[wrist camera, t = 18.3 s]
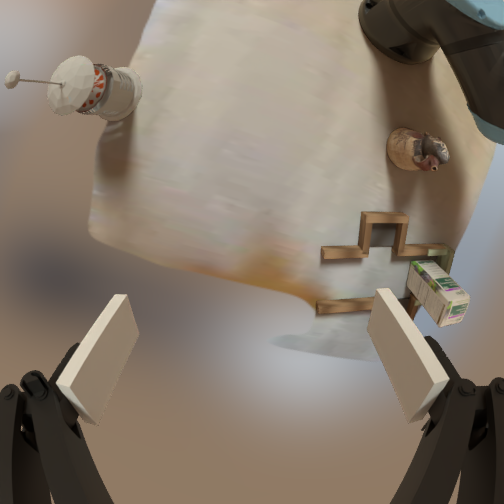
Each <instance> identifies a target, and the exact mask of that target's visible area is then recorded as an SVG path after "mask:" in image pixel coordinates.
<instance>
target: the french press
mask: <svg viewBox="0 0 504 504" xmlns="http://www.w3.org/2000/svg"><path fill="white" fill-rule="evenodd" d="M102 65H103V64H92V63H91V61H90V60H89V59H88V58H87V57H83V56H74V57H71V58H69V59H67V60H66V61H64V62H63V63H62V64H60V65H59V67H58V68H57V69H56V71H55V72H54V73H53V75H52V78H51V80H50V82H46V81H35V80H24V79H20V73H19V71H11V72H10V73H9V74H8V75H7V76H6V79H5V86H6V87H7V88H8V89H10V88H14V87H15V86H16V85H17V84H18V81H25V82H38V83H48V84H49V85H48V93H47V98H48V103H49V106H50V108H51V109H52V110H53V112H54V113H56V114H59V115H61V116H63V115H67V114H71V113H72V112H74V111H77V112H79V113H82V114H87V115H99V116H100V117H101V118H103V119H105V120H108V121H118V120H121V119H123V118H124V117H126V116H128V115H129V114H130V113H131V112H132V111H133V110H134V109H135V108H136V107H137V105H138V102H139V100H140V98H141V95H142V82H141V79H140V76H139V75H138V74H137V73H136V72H135V71H134V70H133V69H130V68H126V67H121V68H115V69H114V68H113V69H112V67H109V66H106V65H105V66H102ZM102 67H108V68H102ZM105 69H108V70H106V71H105ZM109 70H111V71H109ZM108 71H109V72H108ZM92 108H93V110H95V112H94V111H93V110H92ZM89 110H91V111H92V112H93V113H91V112H90V111H89ZM86 111H88V112H89V114H88V112H86ZM83 112H85V113H83Z"/></svg>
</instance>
